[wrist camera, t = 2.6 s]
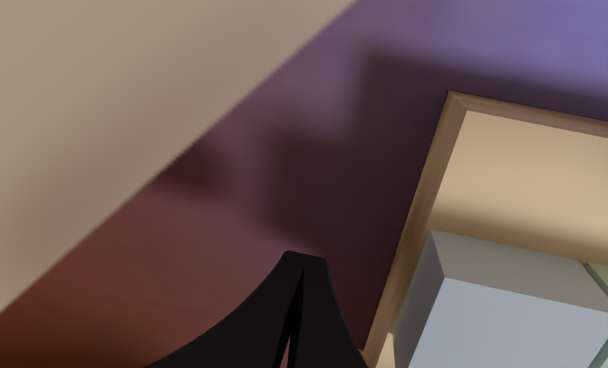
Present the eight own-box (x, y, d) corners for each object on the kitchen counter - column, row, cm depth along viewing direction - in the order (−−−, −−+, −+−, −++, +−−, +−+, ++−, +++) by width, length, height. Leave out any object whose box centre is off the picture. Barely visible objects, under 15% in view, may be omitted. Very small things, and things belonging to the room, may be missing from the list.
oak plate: (586, 401, 18) (618, 460, 16) (363, 351, 18) (363, 401, 16) (766, 152, 13) (853, 186, 10) (449, 90, 13) (467, 110, 11)
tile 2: (518, 362, 14) (546, 427, 12) (392, 334, 14) (397, 393, 12) (577, 259, 12) (622, 315, 10) (430, 228, 13) (444, 277, 10)
